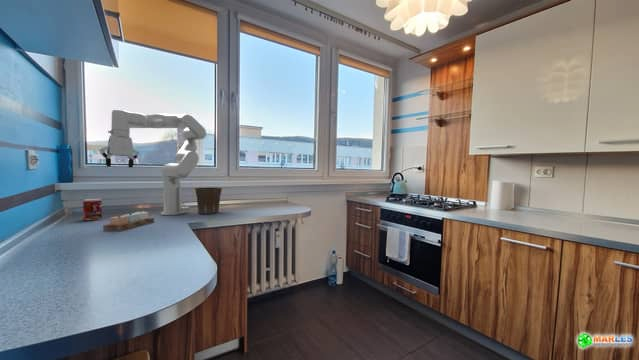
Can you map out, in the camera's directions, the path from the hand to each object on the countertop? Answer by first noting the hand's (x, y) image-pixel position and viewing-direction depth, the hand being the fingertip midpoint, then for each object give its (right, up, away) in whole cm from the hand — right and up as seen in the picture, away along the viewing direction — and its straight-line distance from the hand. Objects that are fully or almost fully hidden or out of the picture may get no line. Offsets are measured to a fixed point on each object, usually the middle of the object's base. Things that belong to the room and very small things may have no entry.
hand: (119, 166), depth 134 cm
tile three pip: (+11, -28, -14) cm, 33 cm away
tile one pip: (+12, -27, -2) cm, 30 cm away
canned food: (-20, -29, +7) cm, 36 cm away
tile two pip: (+11, -27, -8) cm, 31 cm away
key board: (+11, -29, -8) cm, 33 cm away
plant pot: (+33, -28, +32) cm, 54 cm away
